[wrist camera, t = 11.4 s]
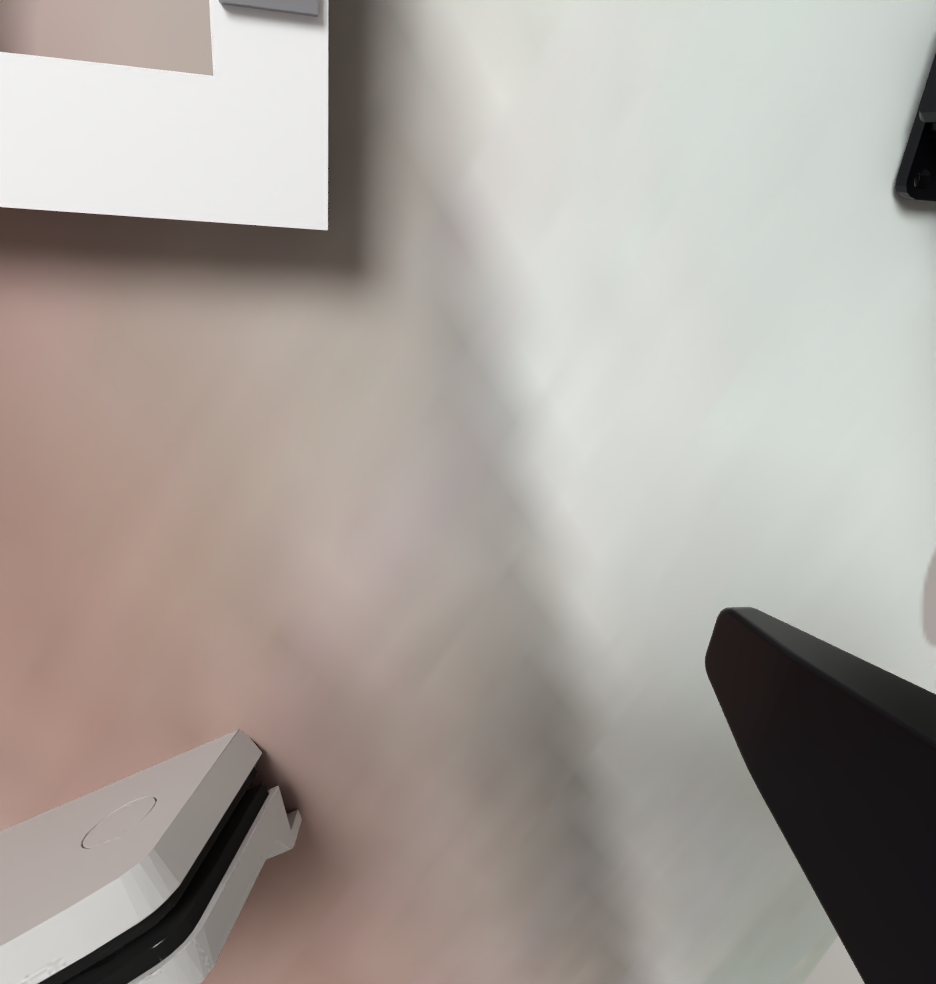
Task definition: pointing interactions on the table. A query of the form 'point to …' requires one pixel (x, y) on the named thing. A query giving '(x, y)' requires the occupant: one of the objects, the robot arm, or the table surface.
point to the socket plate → (179, 127)
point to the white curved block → (140, 872)
